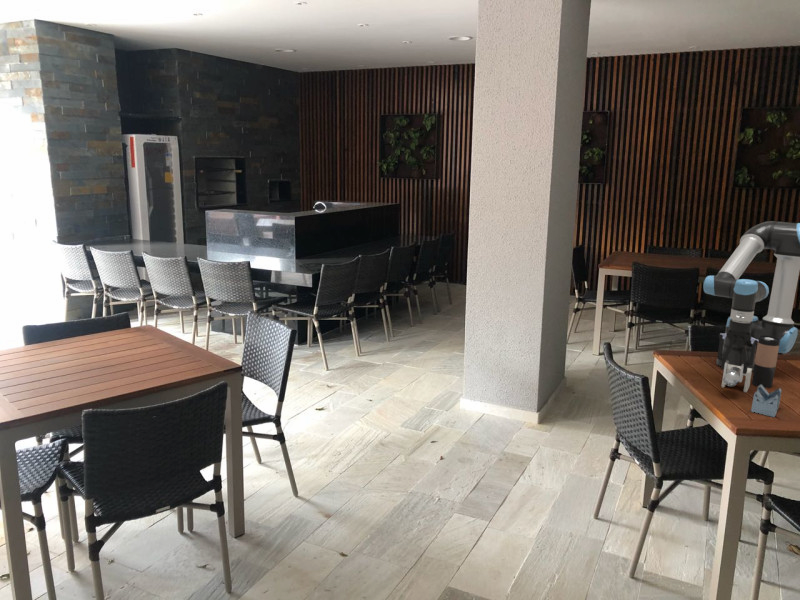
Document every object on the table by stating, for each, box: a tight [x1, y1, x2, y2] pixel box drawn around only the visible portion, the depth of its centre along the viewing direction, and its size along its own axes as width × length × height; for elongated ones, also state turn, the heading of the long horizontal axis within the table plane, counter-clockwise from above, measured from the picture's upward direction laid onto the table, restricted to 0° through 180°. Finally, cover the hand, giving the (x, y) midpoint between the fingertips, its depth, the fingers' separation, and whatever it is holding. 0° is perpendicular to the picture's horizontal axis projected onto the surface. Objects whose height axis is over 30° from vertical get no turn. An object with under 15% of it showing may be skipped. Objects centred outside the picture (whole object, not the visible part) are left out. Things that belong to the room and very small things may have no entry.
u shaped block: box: [721, 364, 753, 393], centre depth 257 cm, size 7×9×8 cm
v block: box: [750, 384, 782, 418], centre depth 234 cm, size 12×7×8 cm, turn 144°
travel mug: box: [751, 335, 780, 389], centre depth 260 cm, size 8×8×20 cm
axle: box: [722, 367, 741, 387], centre depth 247 cm, size 10×5×5 cm, turn 144°
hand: (732, 379), depth 247 cm, fingers closed on axle, 5 cm apart
